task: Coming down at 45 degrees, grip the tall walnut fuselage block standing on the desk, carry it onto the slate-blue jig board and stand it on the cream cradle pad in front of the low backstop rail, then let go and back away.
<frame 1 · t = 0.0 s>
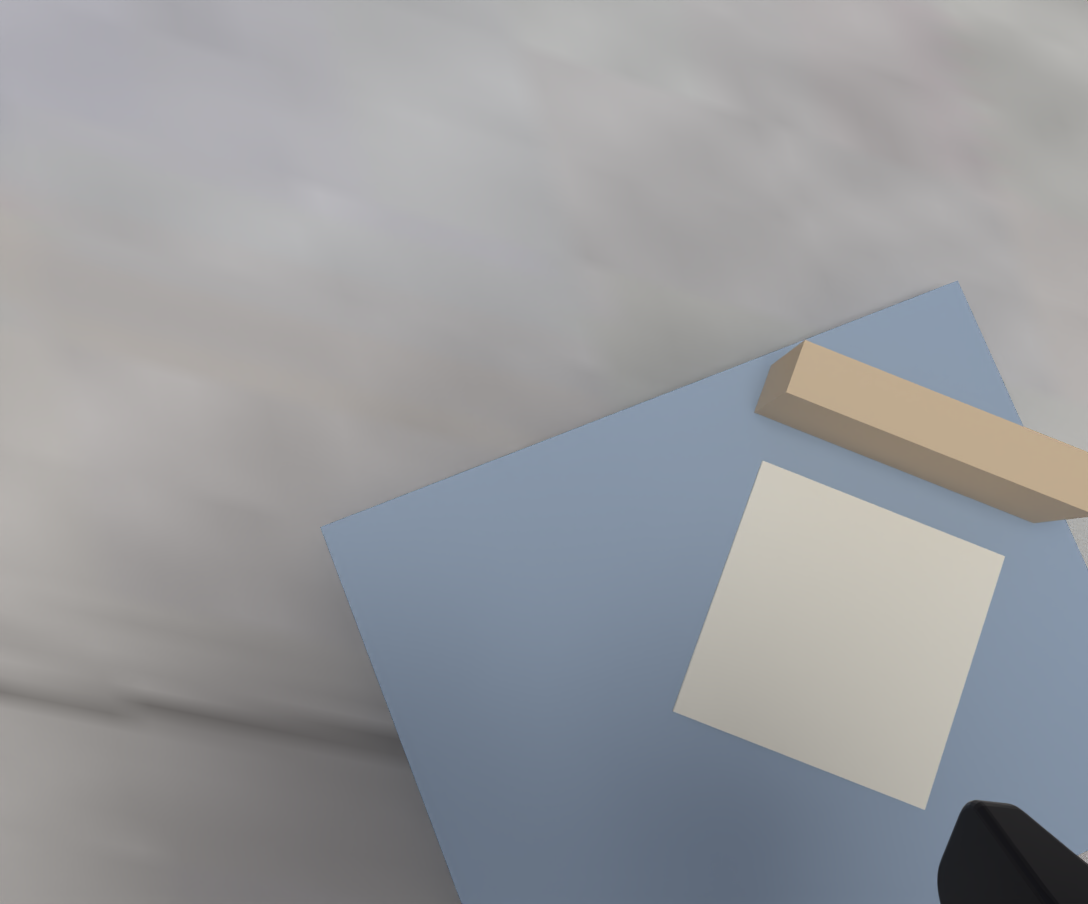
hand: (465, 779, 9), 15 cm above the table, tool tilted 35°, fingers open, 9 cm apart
jig board: (747, 662, 24), on the table
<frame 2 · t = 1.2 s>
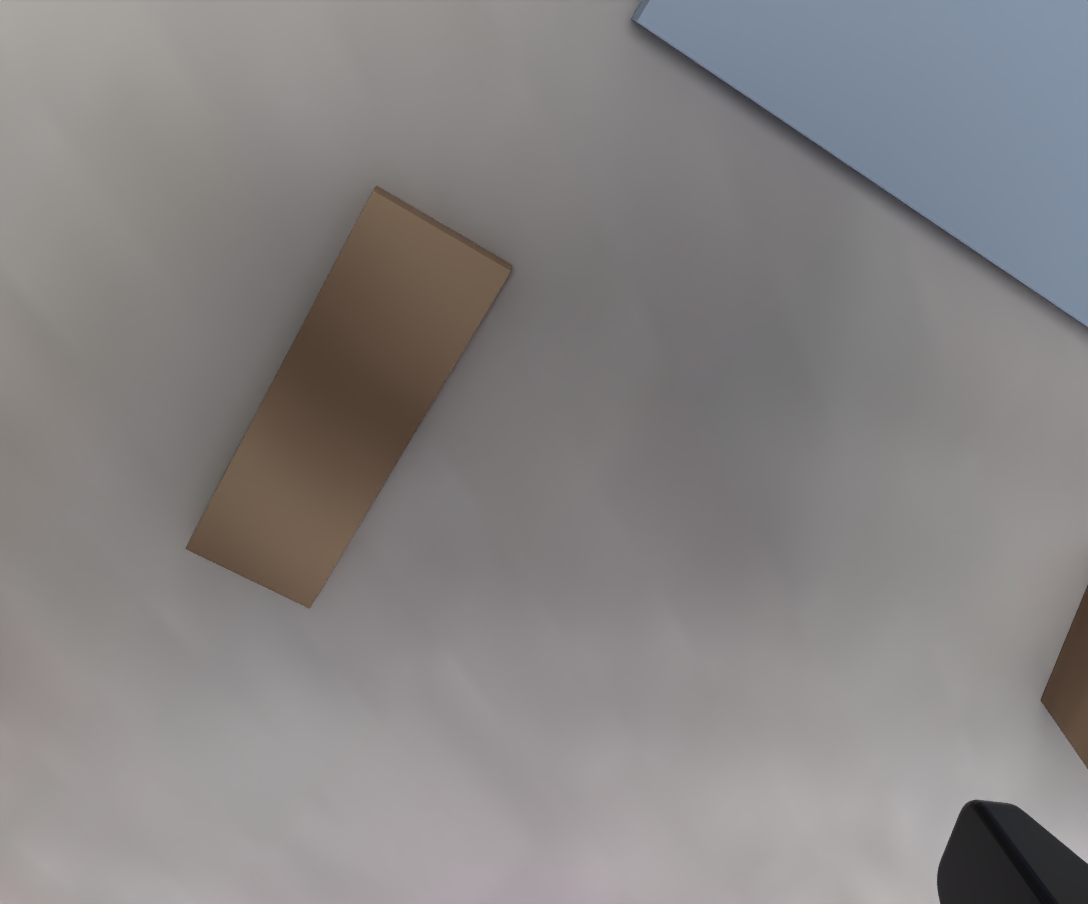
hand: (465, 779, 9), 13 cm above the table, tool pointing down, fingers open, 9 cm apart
wing slat: (346, 400, 22), on the table
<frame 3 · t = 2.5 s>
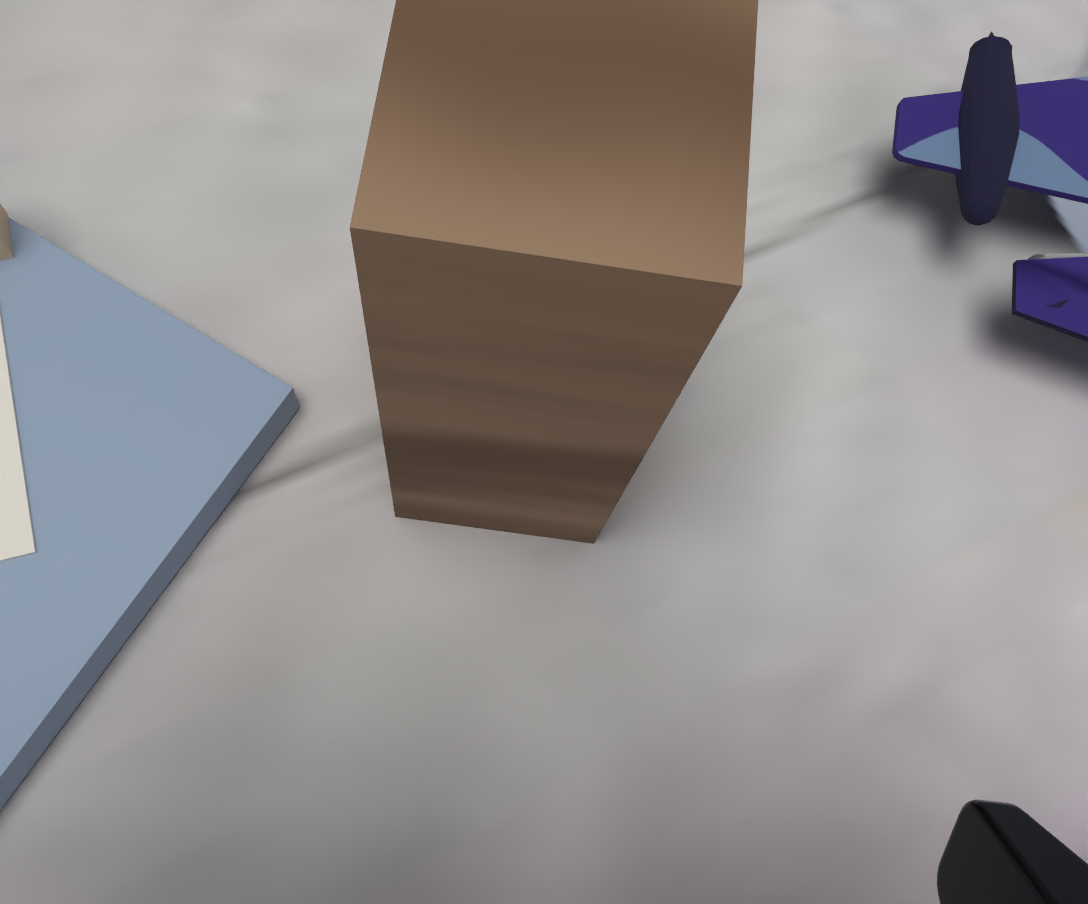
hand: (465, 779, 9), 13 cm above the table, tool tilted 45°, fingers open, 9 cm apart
fuselage block: (507, 436, 24), on the table
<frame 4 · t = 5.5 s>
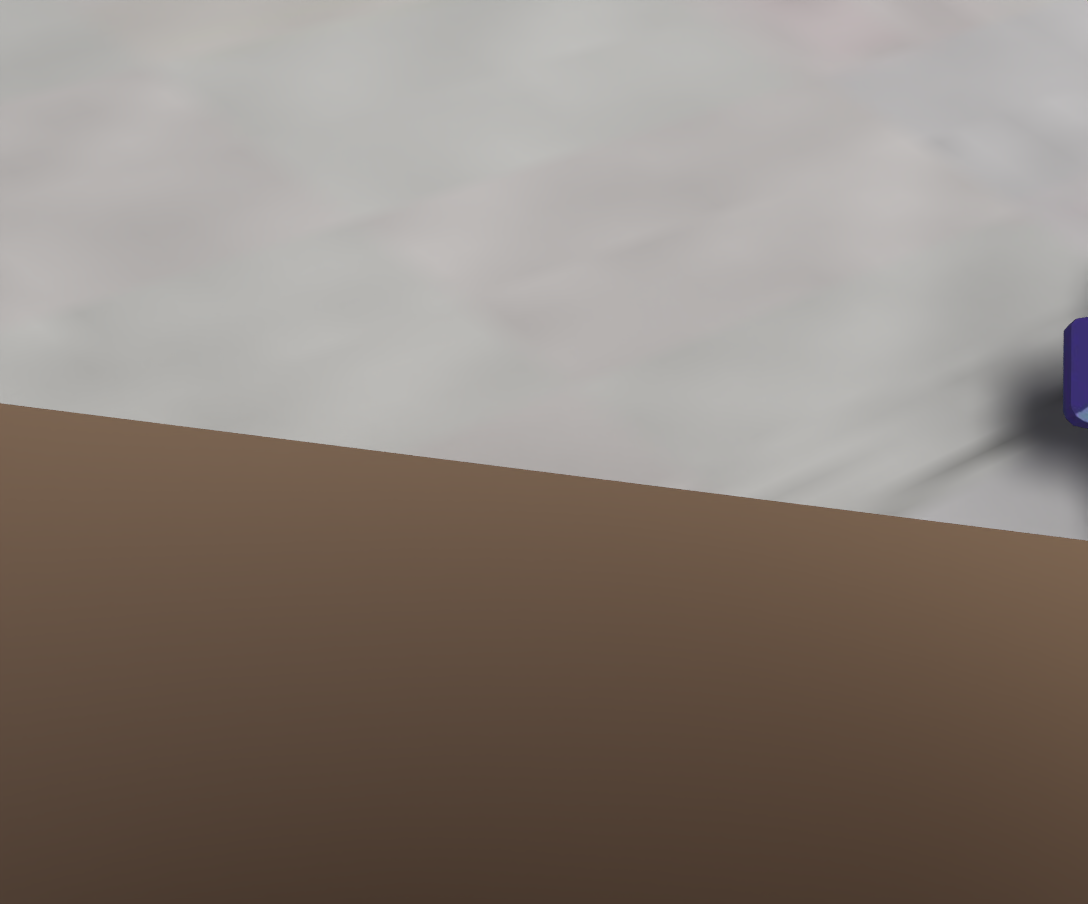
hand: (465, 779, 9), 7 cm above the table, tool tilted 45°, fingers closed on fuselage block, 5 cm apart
fuselage block: (444, 898, 15), on the table, touching gripper
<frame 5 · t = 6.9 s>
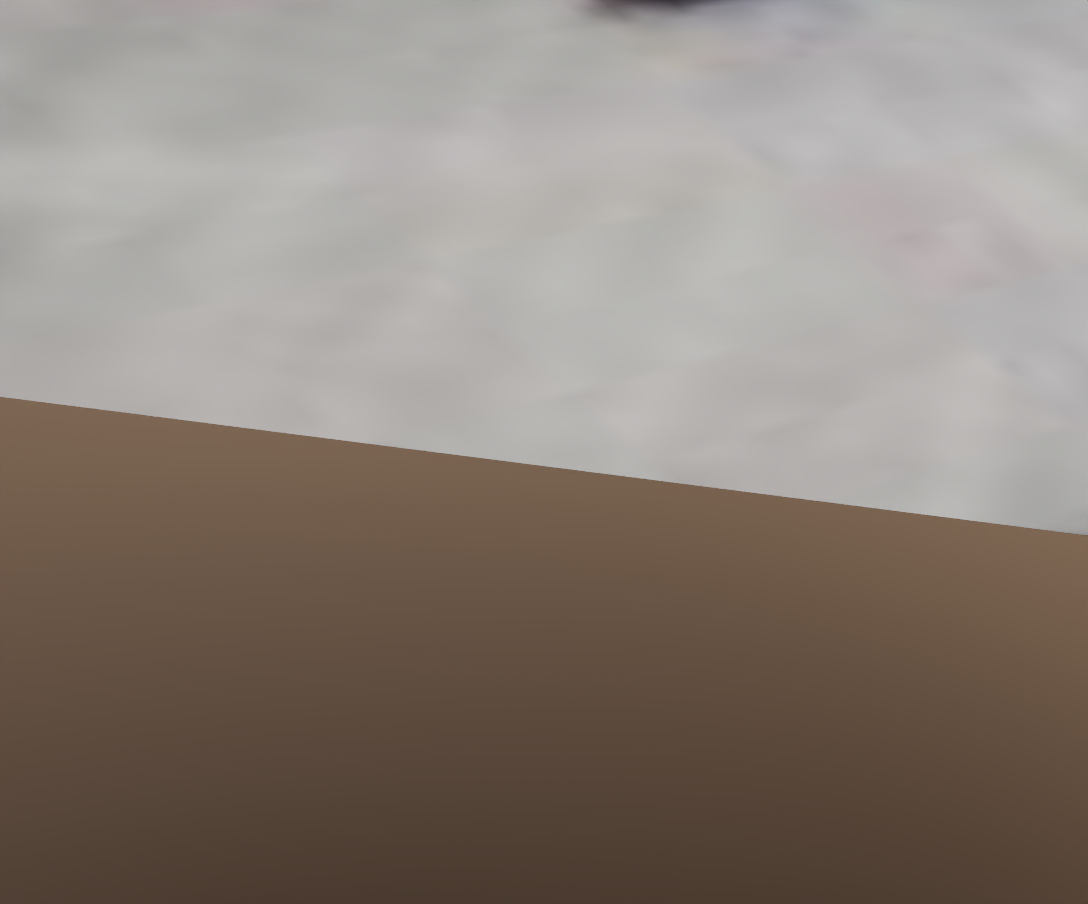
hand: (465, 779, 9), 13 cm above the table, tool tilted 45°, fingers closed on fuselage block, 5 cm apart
fuselage block: (447, 896, 15), point 7 cm above the table, touching gripper
when the fingers open (9 cm above the table, at t = 8.6 s): fuselage block drops 1 cm, resting on jig board.
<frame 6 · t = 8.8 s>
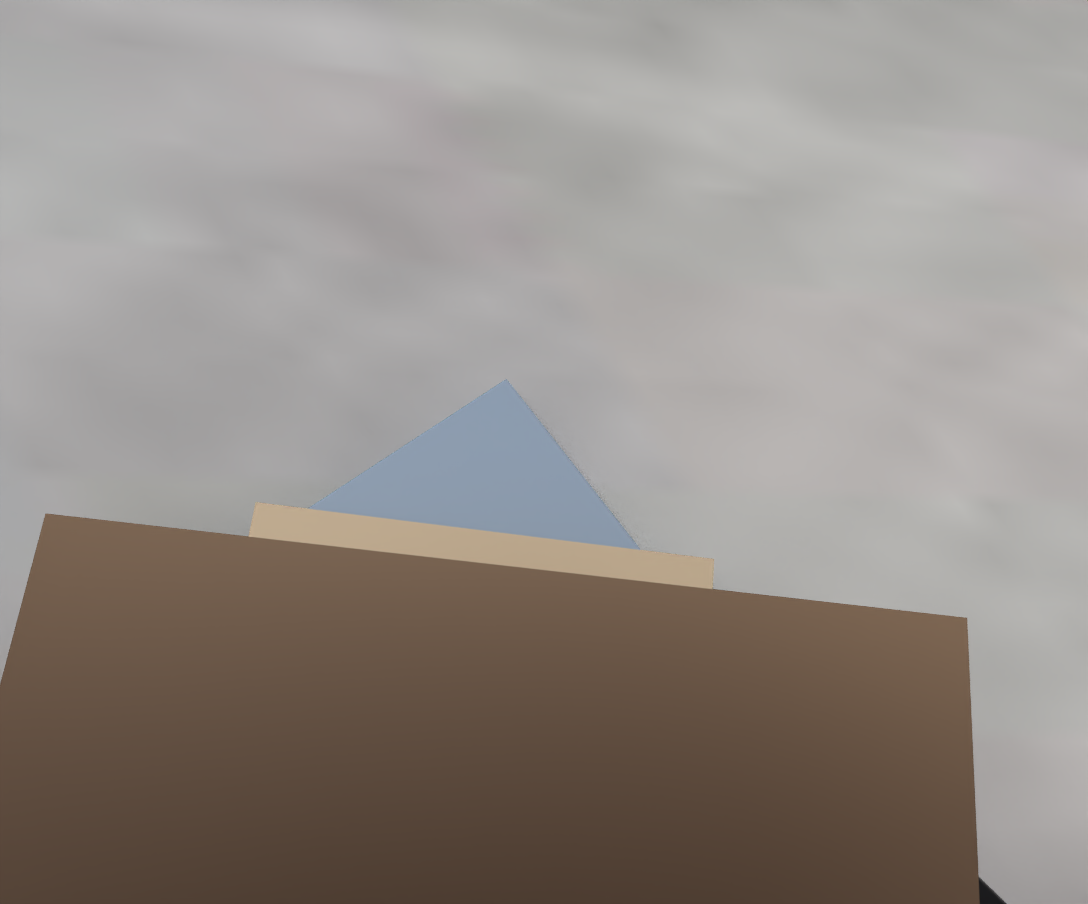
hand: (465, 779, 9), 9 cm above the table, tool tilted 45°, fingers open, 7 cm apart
fuselage block: (447, 887, 16), point 1 cm above the table, touching jig board
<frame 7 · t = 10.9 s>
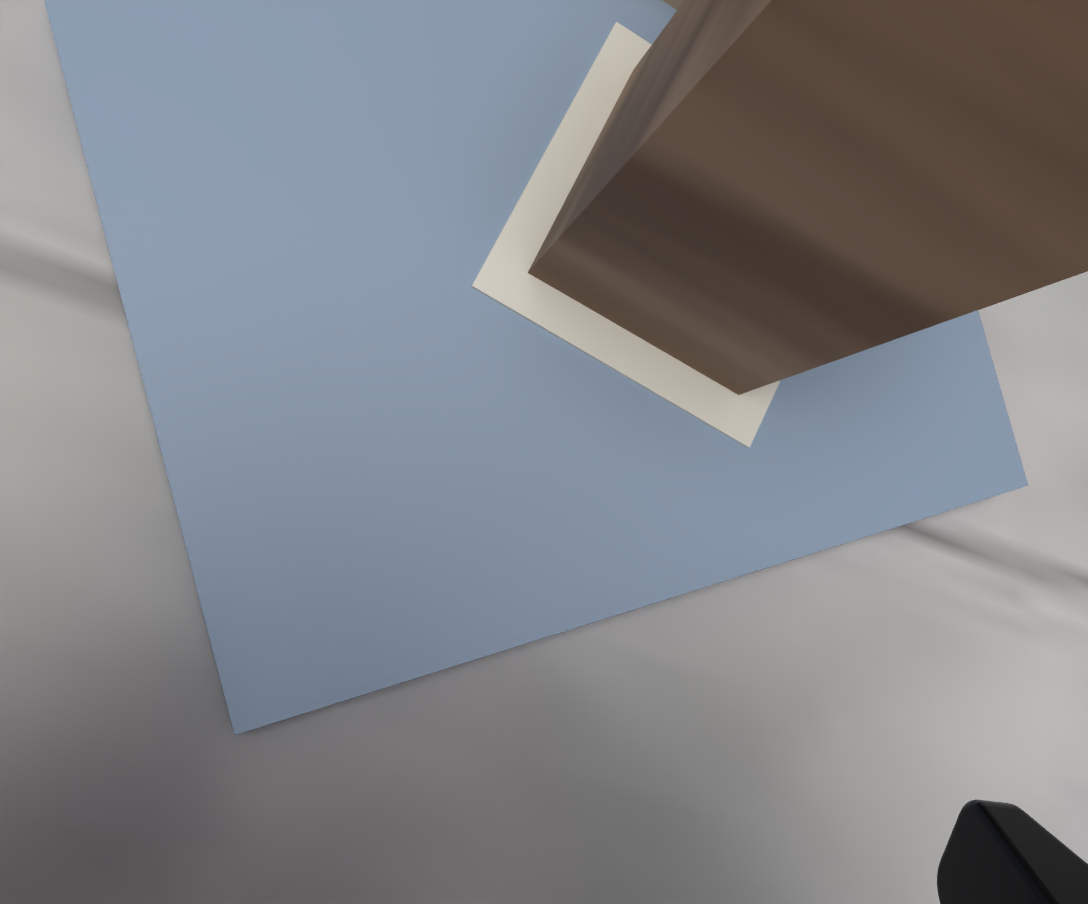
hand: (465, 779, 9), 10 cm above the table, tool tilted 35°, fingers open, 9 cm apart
fuselage block: (685, 231, 20), point 1 cm above the table, touching jig board
jig board: (566, 272, 20), on the table
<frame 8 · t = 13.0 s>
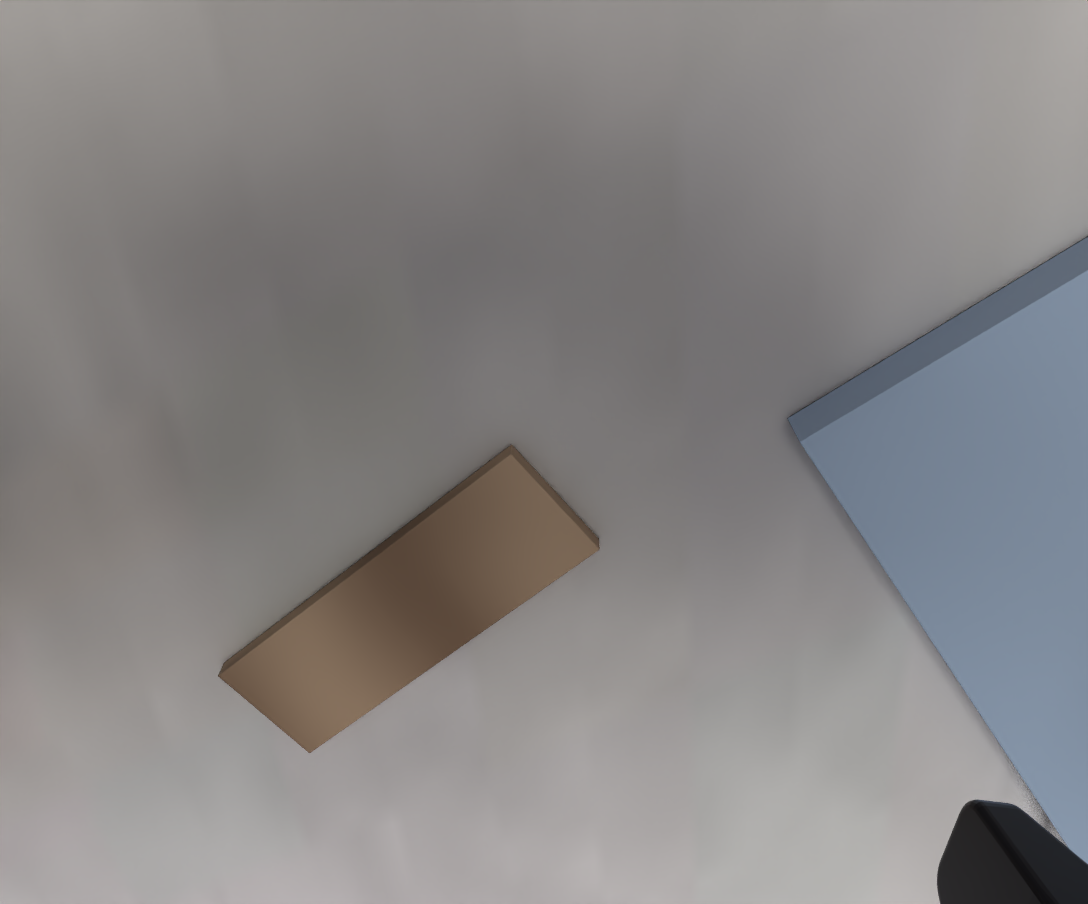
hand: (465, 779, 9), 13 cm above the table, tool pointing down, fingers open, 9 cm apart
wing slat: (408, 590, 24), on the table
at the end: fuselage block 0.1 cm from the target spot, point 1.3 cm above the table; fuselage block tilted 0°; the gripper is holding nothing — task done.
